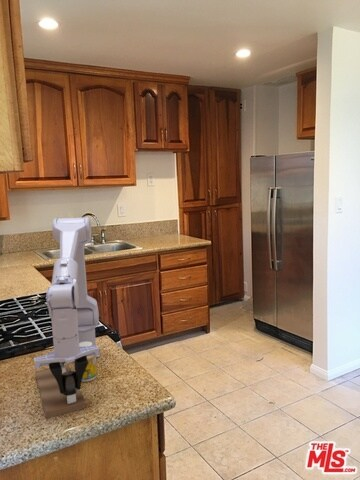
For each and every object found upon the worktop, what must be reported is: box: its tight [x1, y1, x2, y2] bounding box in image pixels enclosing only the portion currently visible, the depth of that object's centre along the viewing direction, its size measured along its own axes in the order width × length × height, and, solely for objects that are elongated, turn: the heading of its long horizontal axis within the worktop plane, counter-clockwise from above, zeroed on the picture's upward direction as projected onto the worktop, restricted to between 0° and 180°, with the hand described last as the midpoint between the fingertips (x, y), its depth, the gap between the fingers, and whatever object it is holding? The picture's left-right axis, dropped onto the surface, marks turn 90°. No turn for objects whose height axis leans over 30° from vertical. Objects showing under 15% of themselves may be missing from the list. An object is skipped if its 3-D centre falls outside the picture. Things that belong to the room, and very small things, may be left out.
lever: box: [60, 362, 77, 404], centre depth 100 cm, size 20×4×6 cm, turn 26°
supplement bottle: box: [79, 341, 98, 383], centre depth 106 cm, size 5×5×10 cm
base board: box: [34, 363, 87, 419], centre depth 100 cm, size 22×9×2 cm, turn 26°
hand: (69, 389), depth 92 cm, fingers closed on lever, 3 cm apart
